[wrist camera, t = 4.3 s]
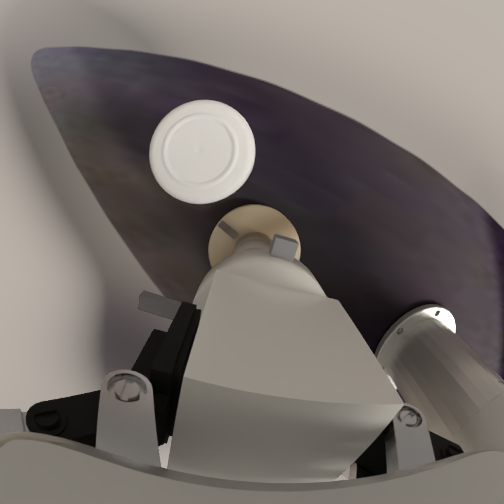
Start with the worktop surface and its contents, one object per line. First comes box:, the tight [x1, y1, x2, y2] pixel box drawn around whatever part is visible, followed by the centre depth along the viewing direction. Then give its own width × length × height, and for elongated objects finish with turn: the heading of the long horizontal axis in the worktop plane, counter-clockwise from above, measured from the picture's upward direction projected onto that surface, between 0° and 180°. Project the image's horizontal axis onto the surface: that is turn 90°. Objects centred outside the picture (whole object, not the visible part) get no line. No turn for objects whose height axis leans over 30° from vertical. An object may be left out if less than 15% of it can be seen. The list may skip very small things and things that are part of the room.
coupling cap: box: [138, 233, 404, 483], centre depth 9 cm, size 9×8×8 cm
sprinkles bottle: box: [149, 100, 255, 204], centre depth 17 cm, size 5×5×13 cm
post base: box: [208, 204, 301, 267], centre depth 20 cm, size 8×8×12 cm
